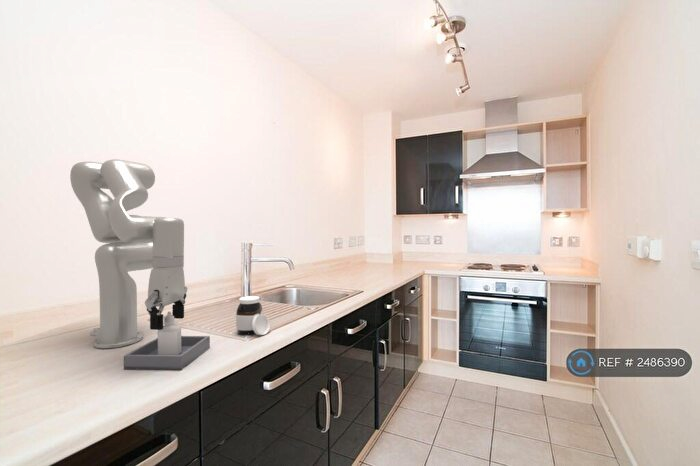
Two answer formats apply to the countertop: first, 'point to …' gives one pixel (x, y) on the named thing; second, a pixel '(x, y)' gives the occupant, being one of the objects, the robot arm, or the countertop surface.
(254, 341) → the countertop surface
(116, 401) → the countertop surface
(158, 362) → the dish
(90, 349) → the countertop surface
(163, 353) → the eye dropper bottle
